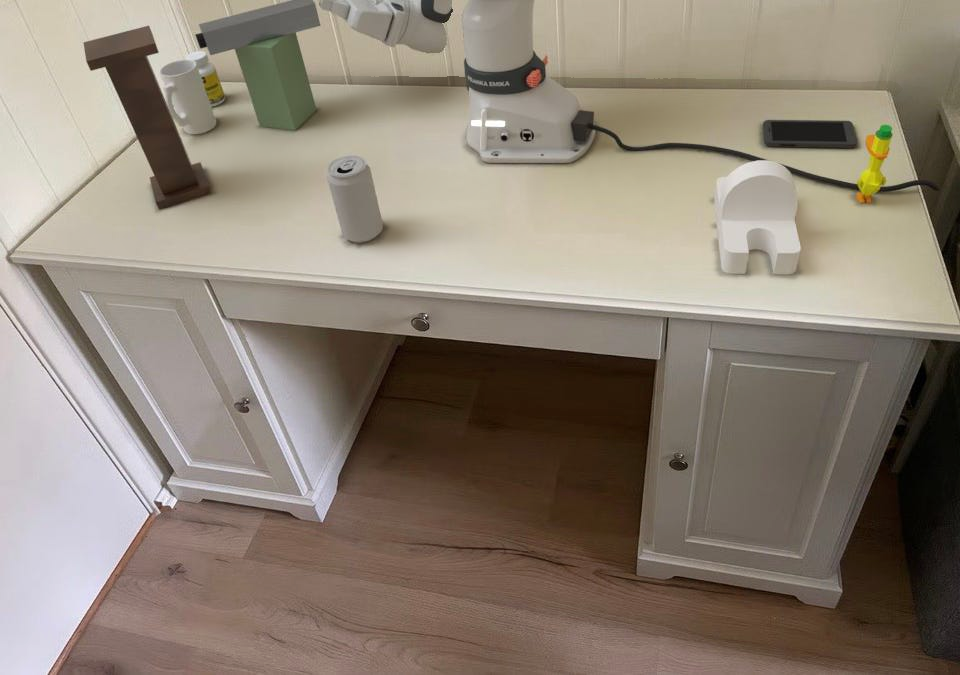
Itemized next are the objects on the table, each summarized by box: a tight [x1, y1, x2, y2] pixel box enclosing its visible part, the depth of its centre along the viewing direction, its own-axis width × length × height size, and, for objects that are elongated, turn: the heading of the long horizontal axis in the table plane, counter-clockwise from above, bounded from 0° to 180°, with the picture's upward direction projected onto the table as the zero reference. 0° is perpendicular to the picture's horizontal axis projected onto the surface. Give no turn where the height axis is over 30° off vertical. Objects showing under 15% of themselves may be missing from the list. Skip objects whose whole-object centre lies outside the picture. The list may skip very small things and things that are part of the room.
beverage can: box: [326, 155, 384, 244], centre depth 117 cm, size 6×6×12 cm
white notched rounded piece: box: [713, 159, 802, 276], centre depth 107 cm, size 10×18×11 cm, turn 171°
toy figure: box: [855, 124, 893, 204], centre depth 110 cm, size 7×4×12 cm, turn 176°
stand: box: [82, 25, 212, 210], centre depth 127 cm, size 10×9×26 cm
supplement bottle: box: [185, 50, 226, 108], centre depth 156 cm, size 5×5×10 cm
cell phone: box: [762, 119, 858, 149], centre depth 127 cm, size 7×14×1 cm, turn 78°
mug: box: [158, 58, 217, 135], centre depth 147 cm, size 10×7×12 cm, turn 165°
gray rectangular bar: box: [194, 0, 321, 56], centre depth 138 cm, size 21×4×4 cm, turn 113°
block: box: [234, 32, 317, 131], centre depth 145 cm, size 8×8×16 cm
